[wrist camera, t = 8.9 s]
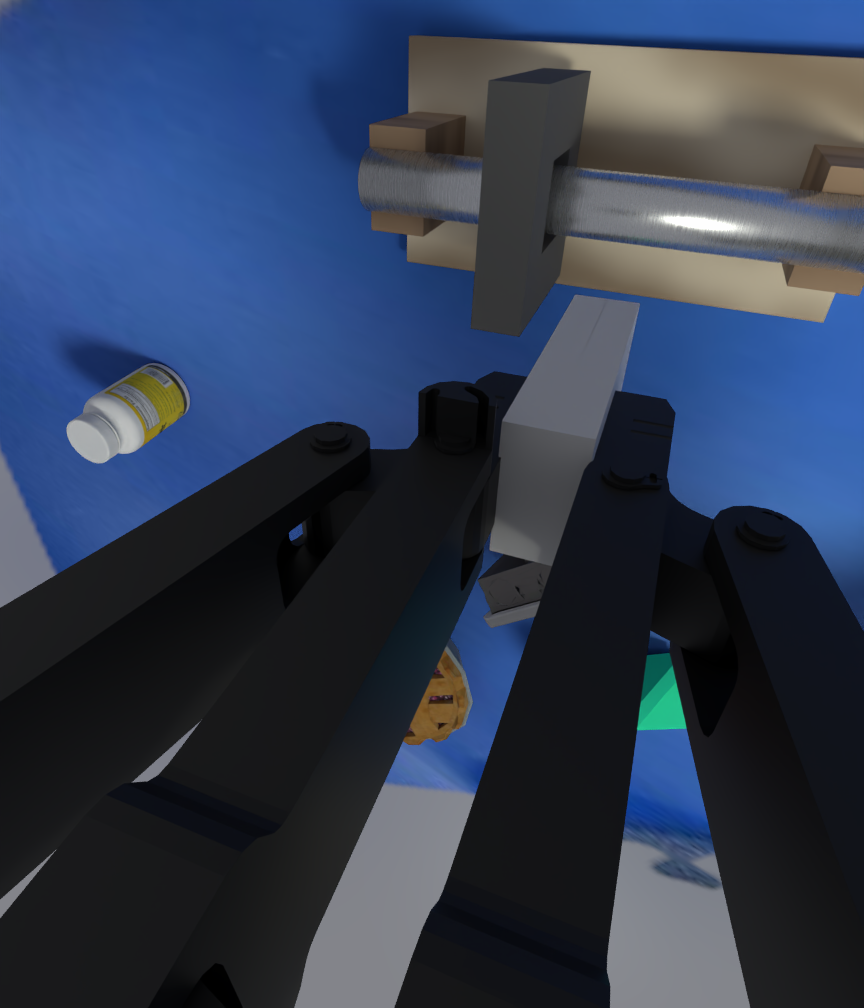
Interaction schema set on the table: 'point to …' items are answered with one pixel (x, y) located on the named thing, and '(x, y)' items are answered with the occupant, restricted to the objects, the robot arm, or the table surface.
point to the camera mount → (660, 696)
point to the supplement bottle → (129, 413)
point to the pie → (442, 701)
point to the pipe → (636, 209)
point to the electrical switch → (513, 589)
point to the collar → (523, 192)
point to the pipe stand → (653, 152)
